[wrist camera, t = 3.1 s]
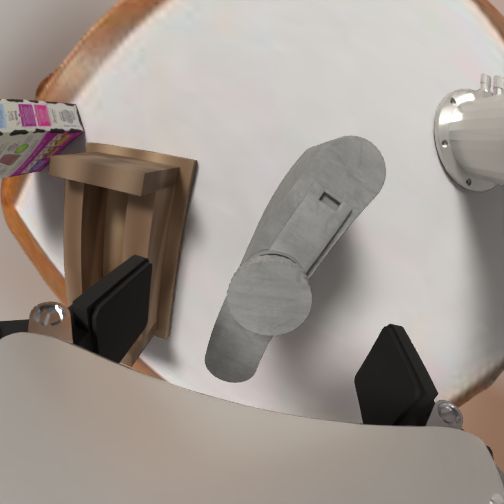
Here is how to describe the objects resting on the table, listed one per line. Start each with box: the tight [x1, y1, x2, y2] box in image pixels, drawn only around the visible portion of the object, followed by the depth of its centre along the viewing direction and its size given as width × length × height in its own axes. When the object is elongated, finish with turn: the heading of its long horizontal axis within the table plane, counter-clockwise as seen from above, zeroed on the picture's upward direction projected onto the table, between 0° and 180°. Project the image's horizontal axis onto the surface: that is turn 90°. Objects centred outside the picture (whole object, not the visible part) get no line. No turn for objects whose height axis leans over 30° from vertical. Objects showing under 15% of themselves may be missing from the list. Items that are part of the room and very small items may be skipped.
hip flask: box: [205, 136, 386, 383], centre depth 21 cm, size 16×4×20 cm, turn 153°
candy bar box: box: [0, 99, 84, 179], centre depth 23 cm, size 11×5×16 cm, turn 113°
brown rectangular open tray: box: [49, 143, 197, 367], centre depth 30 cm, size 15×24×9 cm, turn 166°
